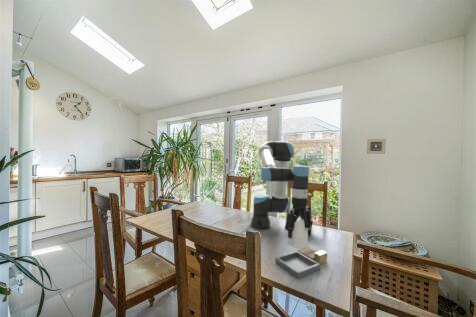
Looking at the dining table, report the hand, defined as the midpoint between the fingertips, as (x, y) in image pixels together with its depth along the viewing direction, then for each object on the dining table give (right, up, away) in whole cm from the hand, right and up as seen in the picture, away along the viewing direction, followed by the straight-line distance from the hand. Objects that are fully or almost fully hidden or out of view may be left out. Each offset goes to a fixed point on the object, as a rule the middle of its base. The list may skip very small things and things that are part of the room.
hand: (298, 242), depth 100 cm
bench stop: (+13, -12, +5) cm, 18 cm away
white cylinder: (0, -1, 0) cm, 1 cm away
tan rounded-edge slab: (+9, -12, +11) cm, 19 cm away
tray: (0, -12, +1) cm, 12 cm away
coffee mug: (+16, -11, +42) cm, 46 cm away
